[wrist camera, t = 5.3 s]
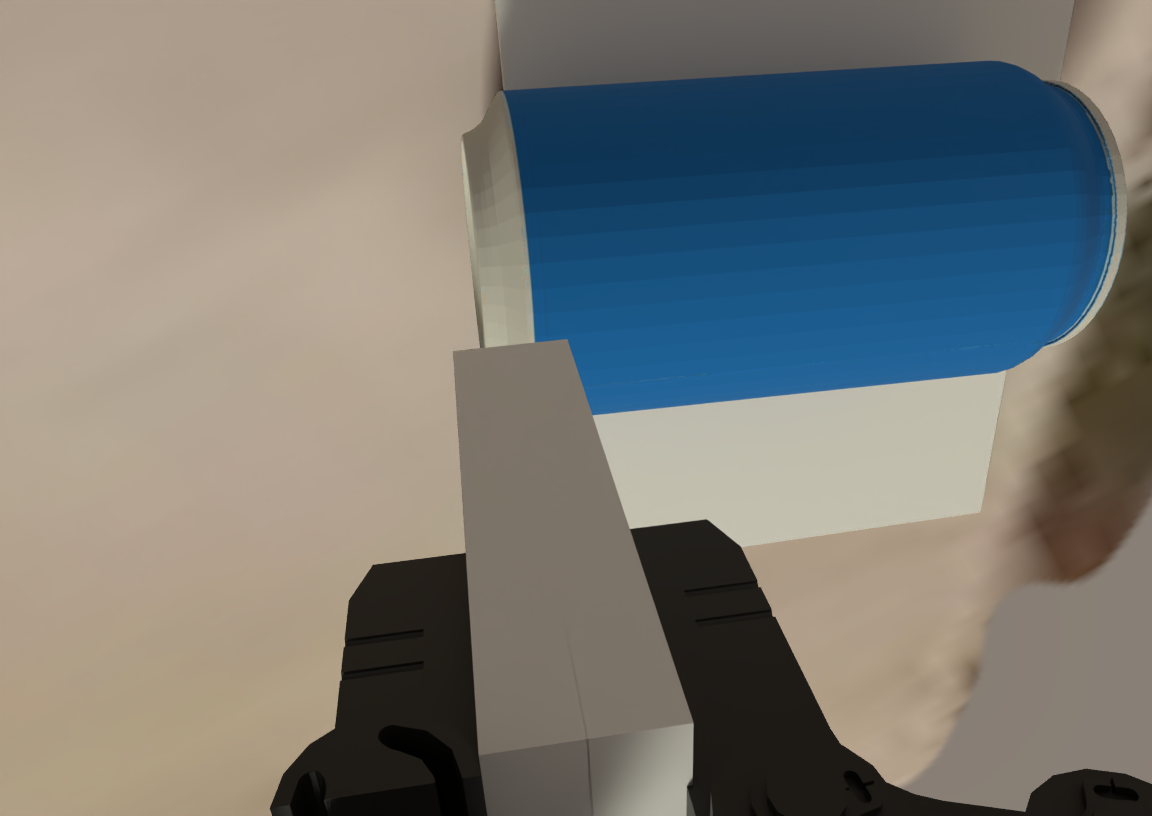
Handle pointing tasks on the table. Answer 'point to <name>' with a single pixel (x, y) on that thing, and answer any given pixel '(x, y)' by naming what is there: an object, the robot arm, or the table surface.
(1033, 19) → the flat white box
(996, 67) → the beverage can
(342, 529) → the table surface
